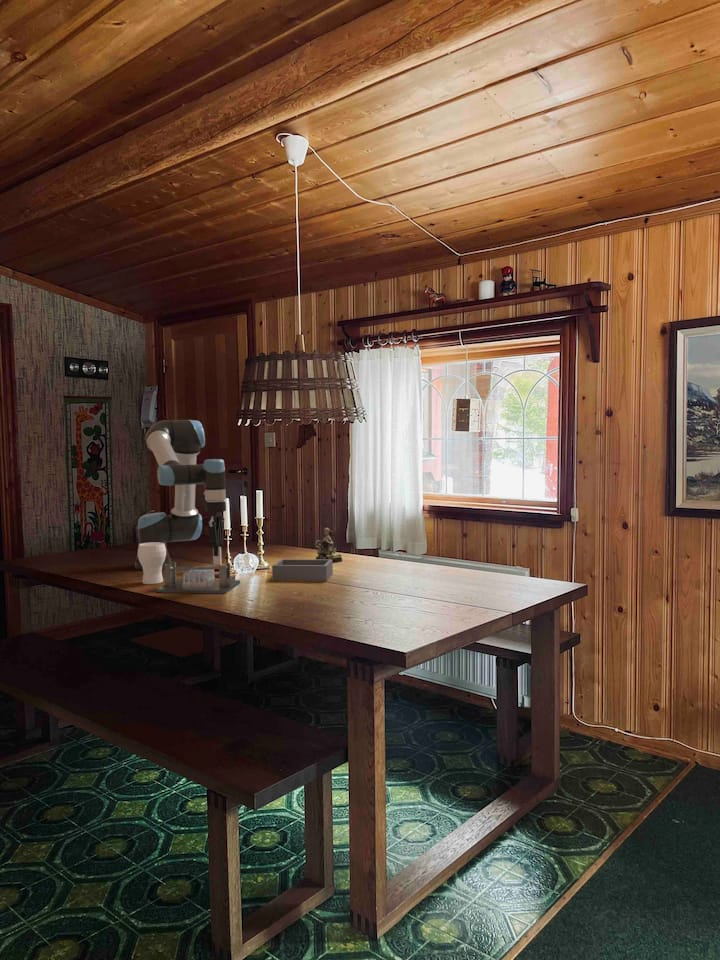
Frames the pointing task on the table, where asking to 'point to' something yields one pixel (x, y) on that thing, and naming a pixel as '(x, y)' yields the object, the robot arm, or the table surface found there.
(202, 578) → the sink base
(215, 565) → the strap
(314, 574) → the tray
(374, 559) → the table surface
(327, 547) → the figurine
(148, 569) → the cup
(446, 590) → the table surface
